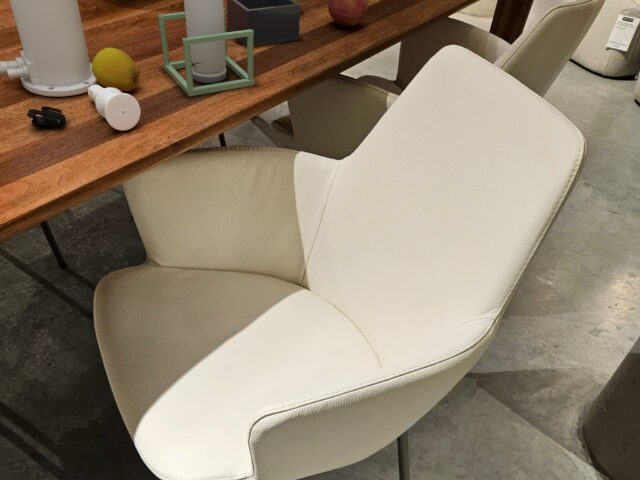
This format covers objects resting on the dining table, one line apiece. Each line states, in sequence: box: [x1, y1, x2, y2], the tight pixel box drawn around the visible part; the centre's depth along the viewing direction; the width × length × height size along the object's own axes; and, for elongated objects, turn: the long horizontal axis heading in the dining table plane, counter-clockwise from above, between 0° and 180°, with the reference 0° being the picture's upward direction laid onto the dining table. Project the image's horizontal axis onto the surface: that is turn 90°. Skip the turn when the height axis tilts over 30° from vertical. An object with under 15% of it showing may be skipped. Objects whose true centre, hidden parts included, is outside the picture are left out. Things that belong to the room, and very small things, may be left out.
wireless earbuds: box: [26, 105, 67, 129], centre depth 86 cm, size 7×2×5 cm
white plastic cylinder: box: [87, 84, 142, 131], centre depth 89 cm, size 5×5×12 cm
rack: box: [157, 7, 255, 97], centre depth 99 cm, size 12×12×9 cm
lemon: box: [91, 47, 141, 92], centre depth 95 cm, size 6×6×8 cm
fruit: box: [327, 0, 369, 28], centre depth 122 cm, size 8×8×10 cm
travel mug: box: [183, 0, 227, 85], centre depth 96 cm, size 6×7×20 cm
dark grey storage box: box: [226, 0, 301, 48], centre depth 116 cm, size 11×9×7 cm
